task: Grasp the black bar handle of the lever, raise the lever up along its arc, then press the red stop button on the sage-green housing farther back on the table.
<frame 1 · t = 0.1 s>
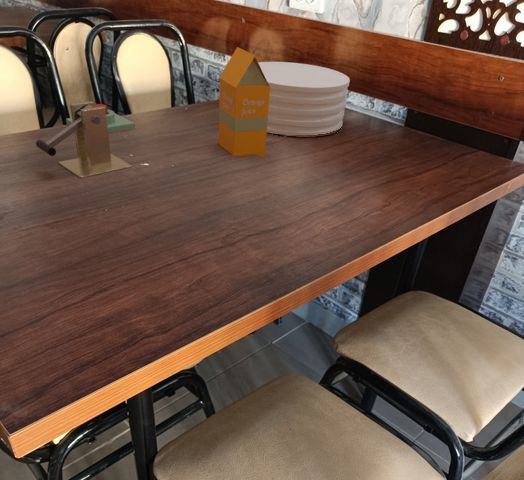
bracket: (96, 169, 100), on the table
orange juice: (241, 153, 114), on the table
plate stack: (290, 121, 136), on the table
stop button: (99, 110, 115), point 4 cm above the table, slide at 0.1 cm
lever: (69, 130, 92), point 8 cm above the table, hinge at -25.0°
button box: (101, 130, 118), on the table
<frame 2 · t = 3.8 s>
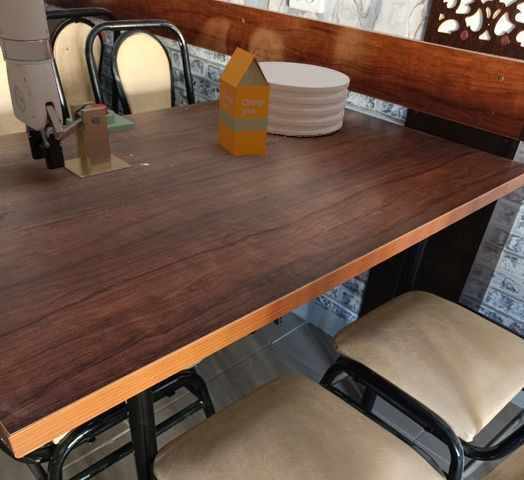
hand: (48, 162, 93), 3 cm above the table, tool pointing down, fingers closed on lever, 5 cm apart
lever: (69, 130, 92), point 8 cm above the table, hinge at -25.0°, touching gripper
everything else where it was.
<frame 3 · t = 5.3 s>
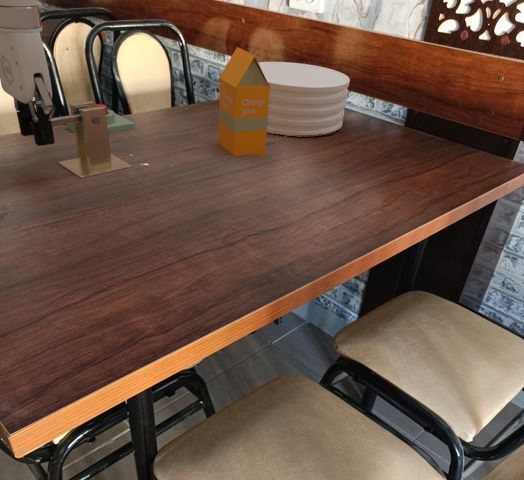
hand: (37, 138, 89), 8 cm above the table, tool pointing down, fingers closed on lever, 5 cm apart
lever: (65, 120, 91), point 10 cm above the table, hinge at -1.0°, touching gripper
everything else where it was.
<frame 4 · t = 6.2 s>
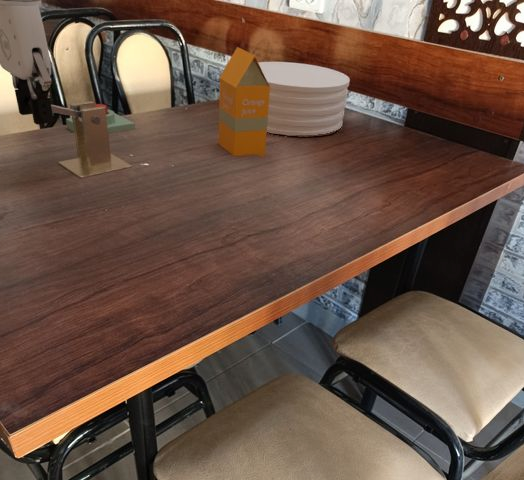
hand: (36, 117, 87), 11 cm above the table, tool pointing down, fingers closed on lever, 5 cm apart
lever: (64, 111, 90), point 11 cm above the table, hinge at 17.8°, touching gripper
everything else where it was.
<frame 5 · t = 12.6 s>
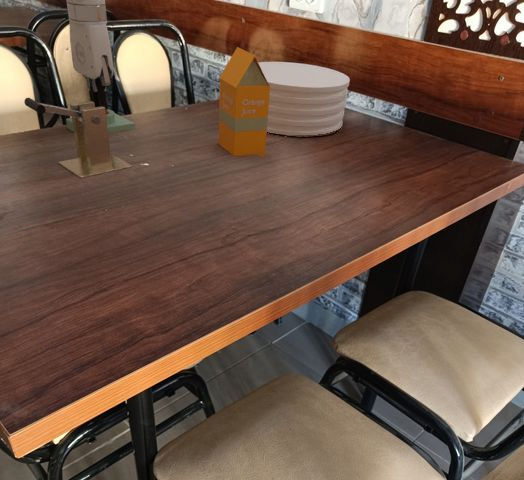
hand: (99, 109, 115), 5 cm above the table, tool pointing down, fingers closed
stop button: (99, 113, 116), point 4 cm above the table, slide at -0.6 cm, touching gripper
lever: (64, 111, 90), point 11 cm above the table, hinge at 16.8°
everything else where it was.
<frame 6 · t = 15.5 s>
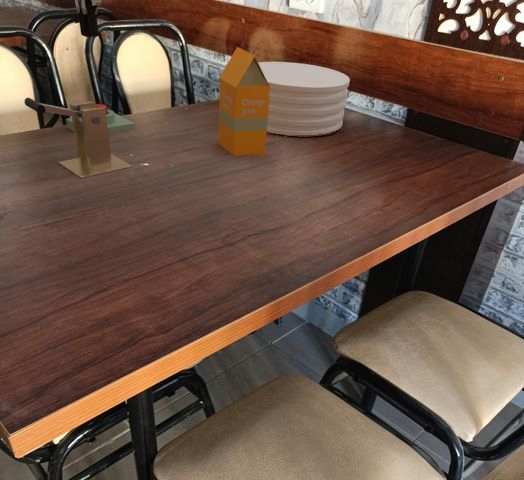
hand: (90, 35, 106), 19 cm above the table, tool pointing down, fingers closed
stop button: (99, 110, 115), point 4 cm above the table, slide at 0.1 cm
everything else where it was.
at the end: lever at +17° (first picture: -25°); stop button pushed in 1.1 cm at the most during the clip, back to where it started at the end; stop button slide at 0.1 cm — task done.
